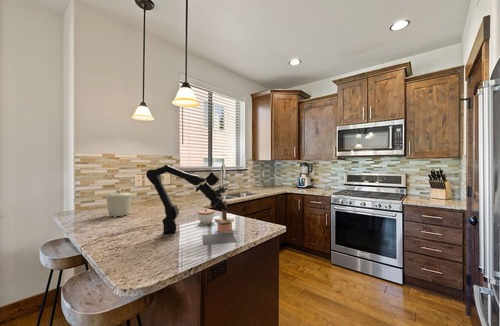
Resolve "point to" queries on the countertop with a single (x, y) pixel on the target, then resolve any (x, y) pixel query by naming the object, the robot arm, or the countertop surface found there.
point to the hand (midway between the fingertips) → (226, 209)
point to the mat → (218, 239)
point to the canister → (118, 203)
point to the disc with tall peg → (224, 216)
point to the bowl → (224, 227)
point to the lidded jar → (205, 216)
